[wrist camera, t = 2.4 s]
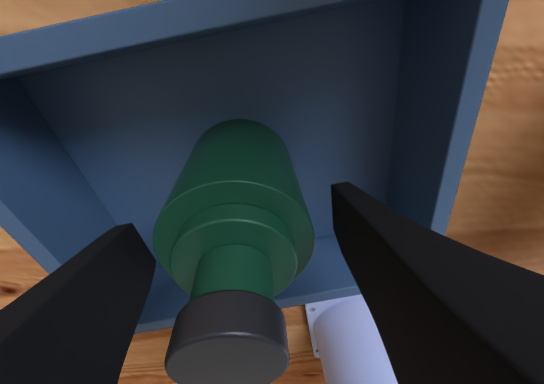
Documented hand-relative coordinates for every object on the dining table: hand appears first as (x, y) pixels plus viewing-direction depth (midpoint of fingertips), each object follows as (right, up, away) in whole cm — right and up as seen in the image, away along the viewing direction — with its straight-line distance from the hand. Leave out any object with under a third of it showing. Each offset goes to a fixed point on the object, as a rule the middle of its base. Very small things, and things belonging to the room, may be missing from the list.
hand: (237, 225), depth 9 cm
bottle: (0, +3, +4) cm, 5 cm away
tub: (0, +3, +5) cm, 5 cm away
